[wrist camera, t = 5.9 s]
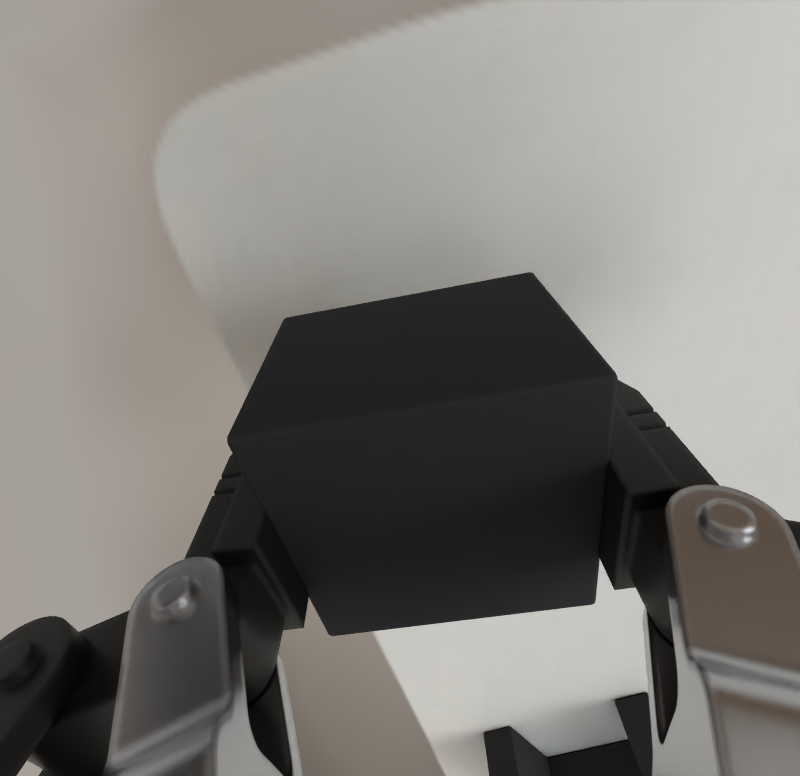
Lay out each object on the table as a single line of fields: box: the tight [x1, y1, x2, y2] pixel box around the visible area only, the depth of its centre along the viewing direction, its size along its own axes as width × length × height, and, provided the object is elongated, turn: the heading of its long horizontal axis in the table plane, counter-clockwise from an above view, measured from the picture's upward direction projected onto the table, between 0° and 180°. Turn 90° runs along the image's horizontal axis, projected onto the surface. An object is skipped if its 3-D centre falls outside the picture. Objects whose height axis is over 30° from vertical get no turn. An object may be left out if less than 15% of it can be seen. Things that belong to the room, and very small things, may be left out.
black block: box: [227, 272, 617, 636], centre depth 9 cm, size 5×5×4 cm
